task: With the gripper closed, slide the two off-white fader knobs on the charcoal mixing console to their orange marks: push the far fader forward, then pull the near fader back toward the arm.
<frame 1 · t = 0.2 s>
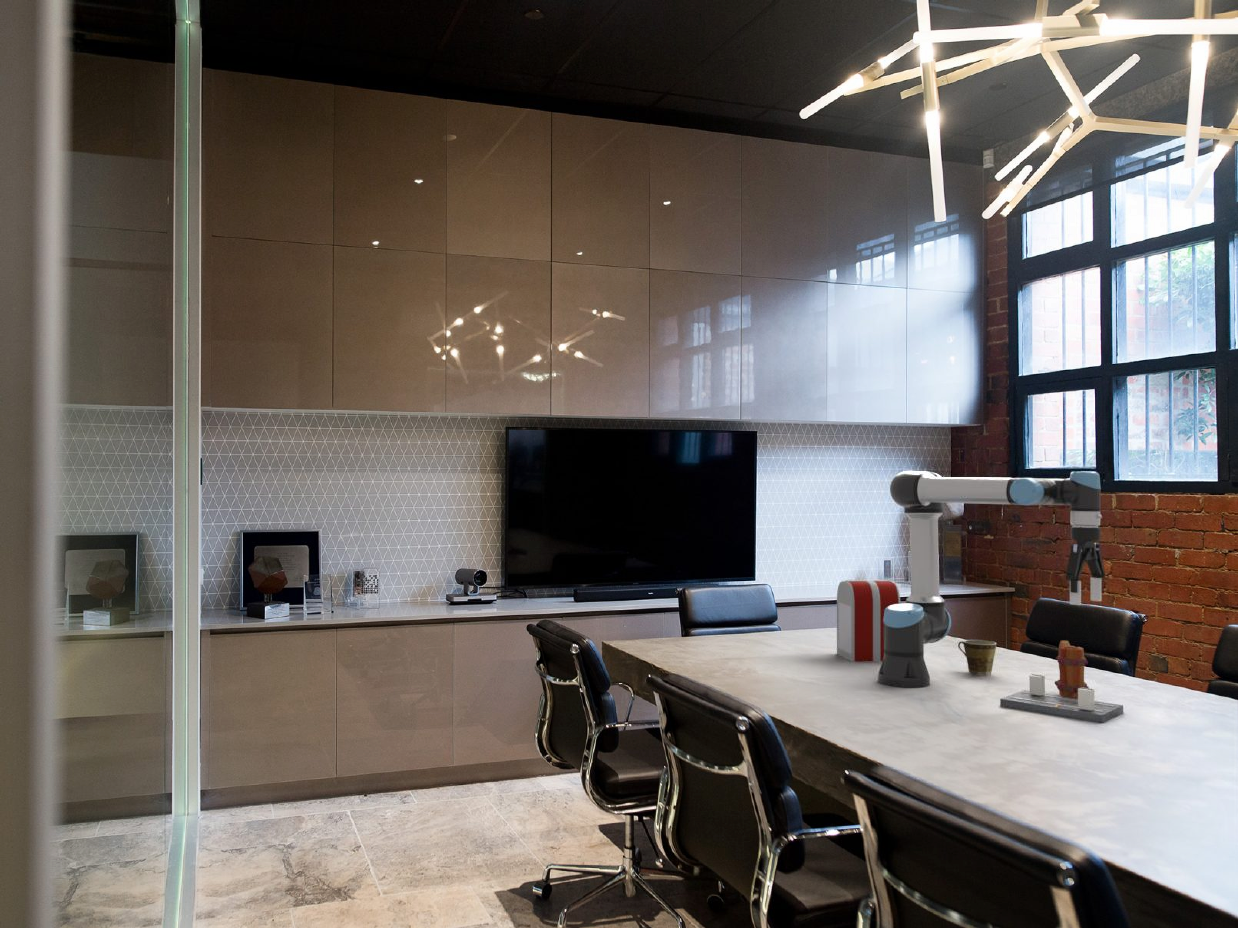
hand: (1085, 602, 265), 27 cm above the table, fingers open, 13 cm apart
fader near: (1086, 698, 246), point 5 cm above the table, slide at 10.0 cm
ceramic cup: (975, 673, 306), on the table
console: (1060, 709, 255), on the table
mug: (1069, 696, 272), on the table
red striped block: (868, 657, 334), on the table
fader far: (1037, 684, 264), point 5 cm above the table, slide at 0.0 cm
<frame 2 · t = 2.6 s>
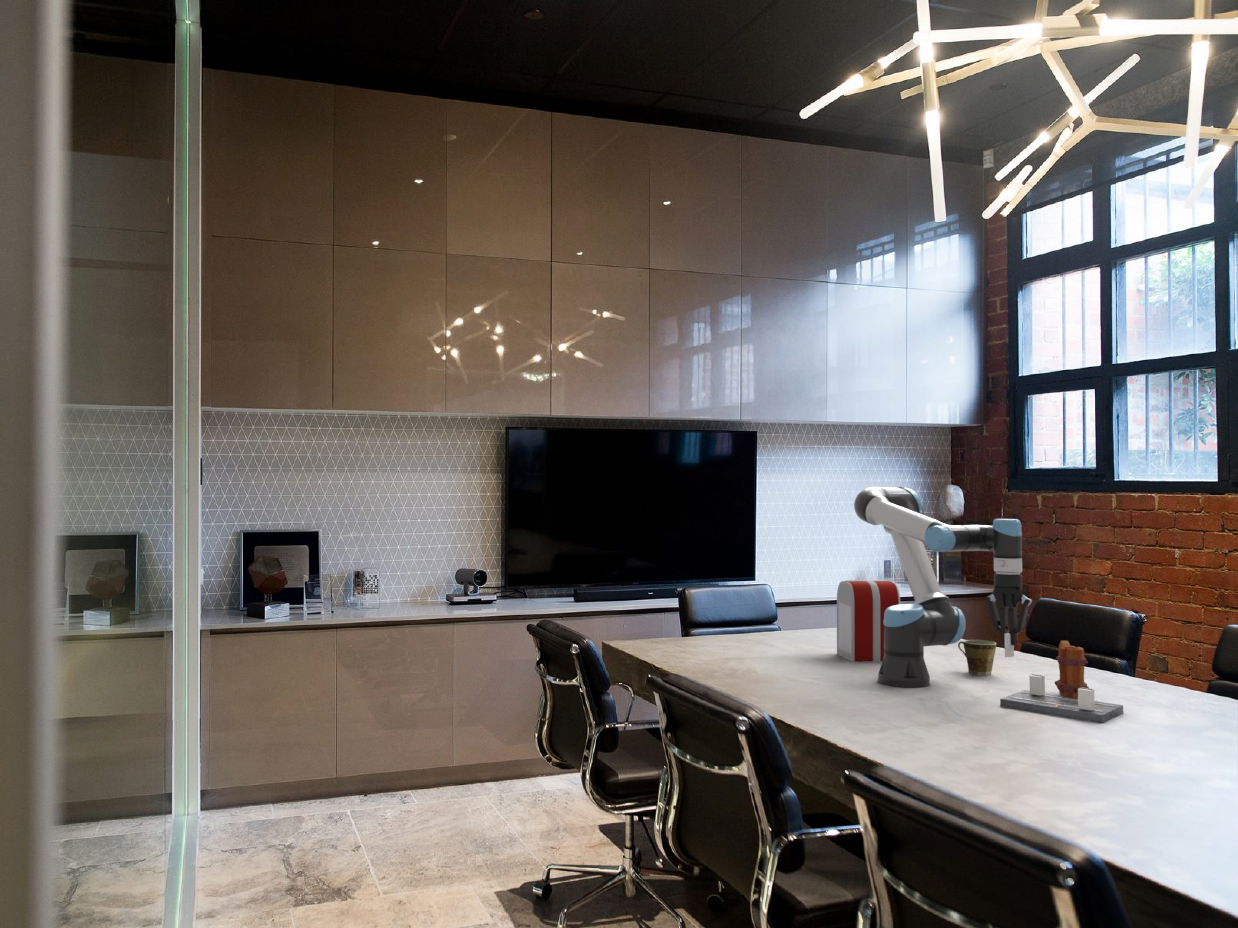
hand: (1009, 656, 269), 12 cm above the table, fingers closed
nothing on the table moved.
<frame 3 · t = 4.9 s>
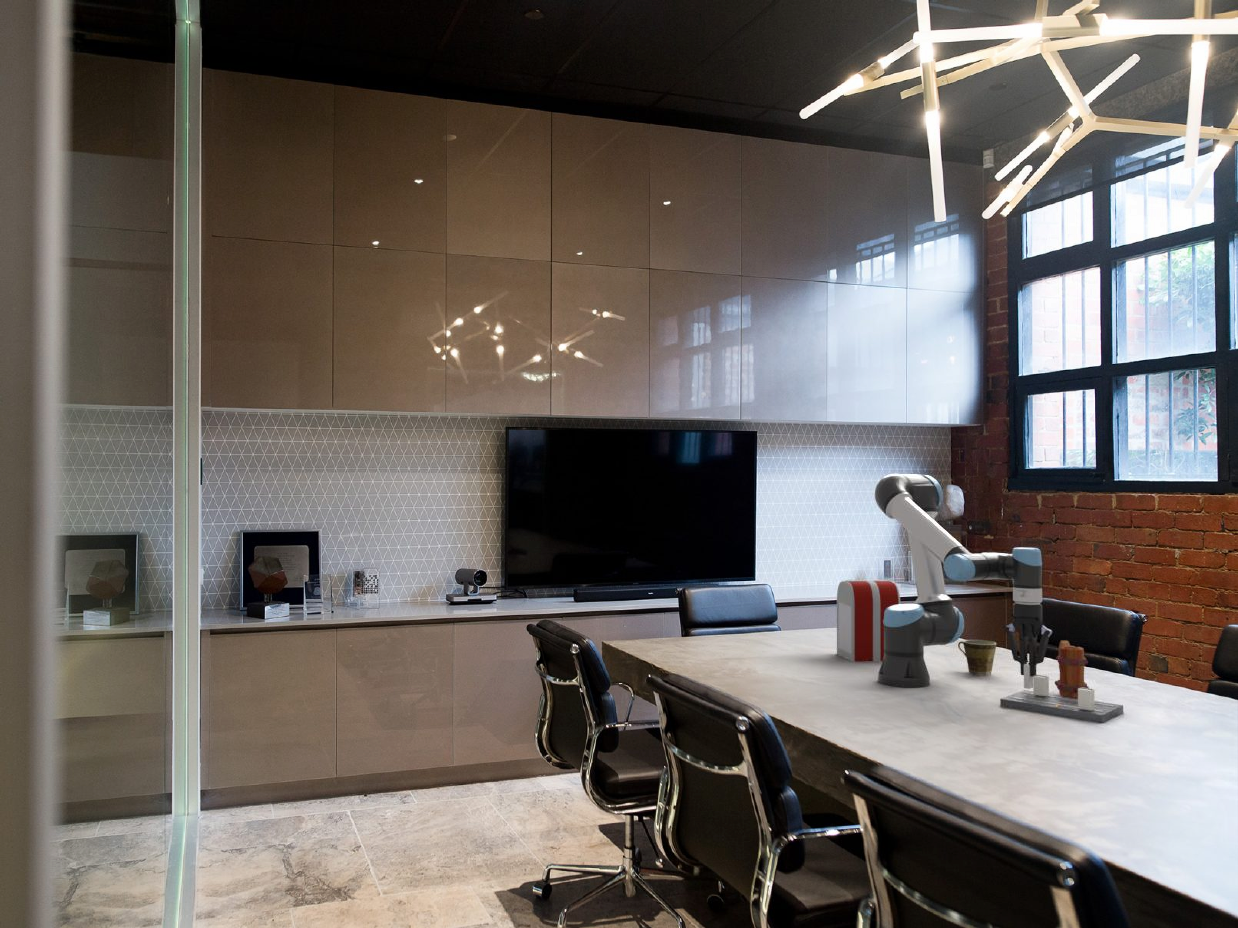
hand: (1028, 687, 265), 4 cm above the table, fingers closed
fader far: (1041, 684, 263), point 5 cm above the table, slide at 1.1 cm, touching gripper
everything else where it was.
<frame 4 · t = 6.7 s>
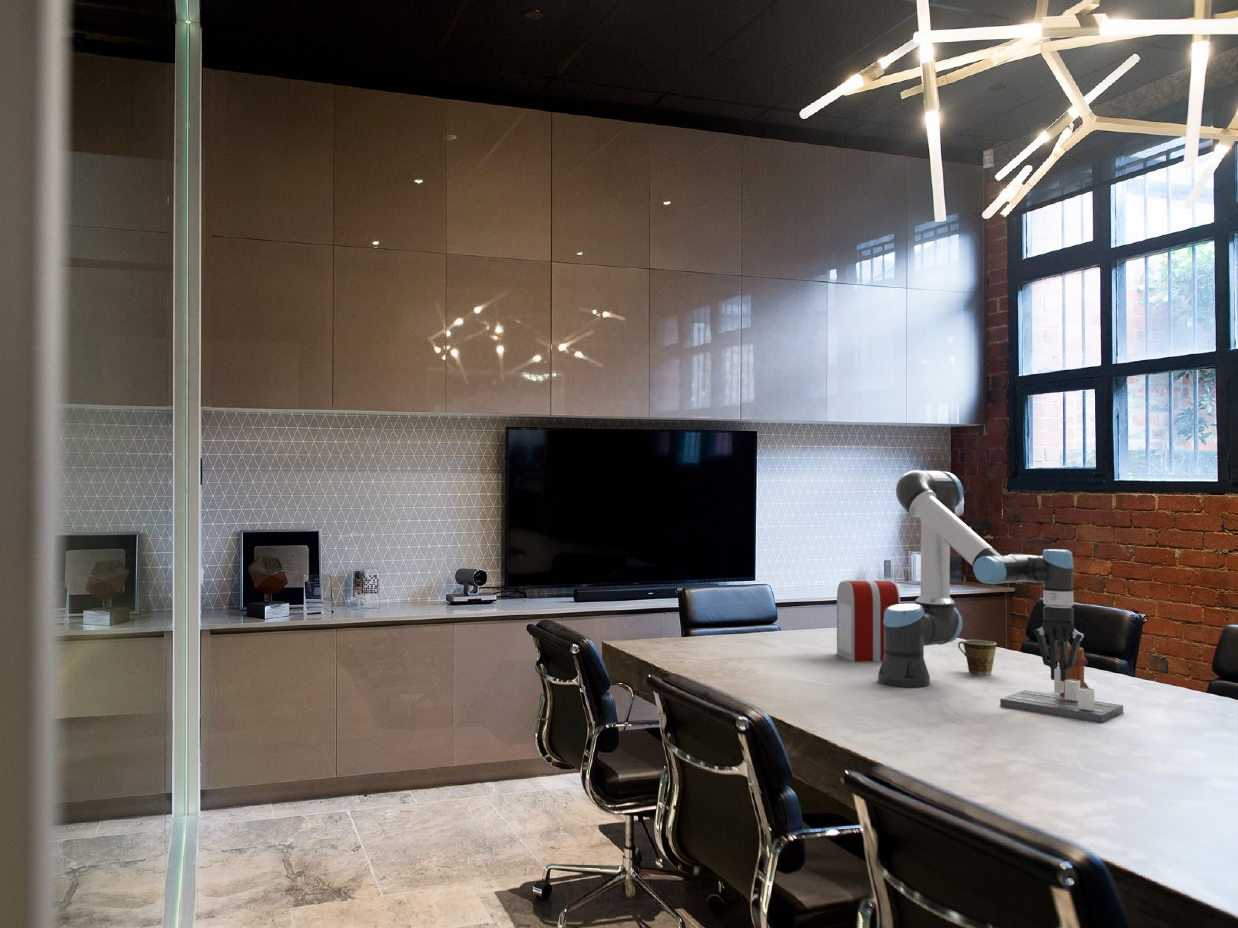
hand: (1059, 692, 259), 4 cm above the table, fingers closed
fader far: (1072, 689, 257), point 5 cm above the table, slide at 9.4 cm, touching gripper
everything else where it was.
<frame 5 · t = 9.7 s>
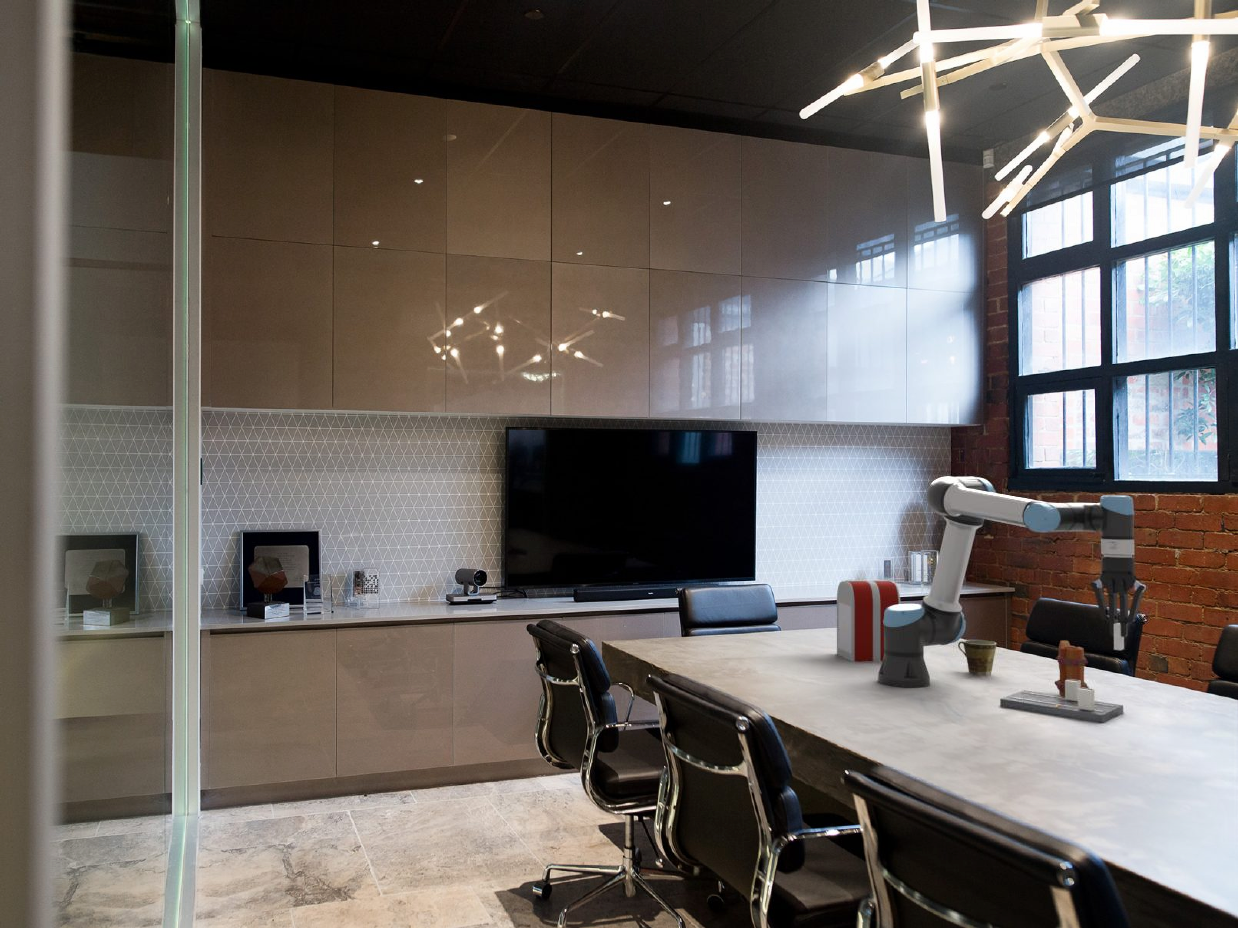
hand: (1119, 649, 241), 19 cm above the table, fingers closed
fader far: (1072, 689, 257), point 5 cm above the table, slide at 9.5 cm
everything else where it was.
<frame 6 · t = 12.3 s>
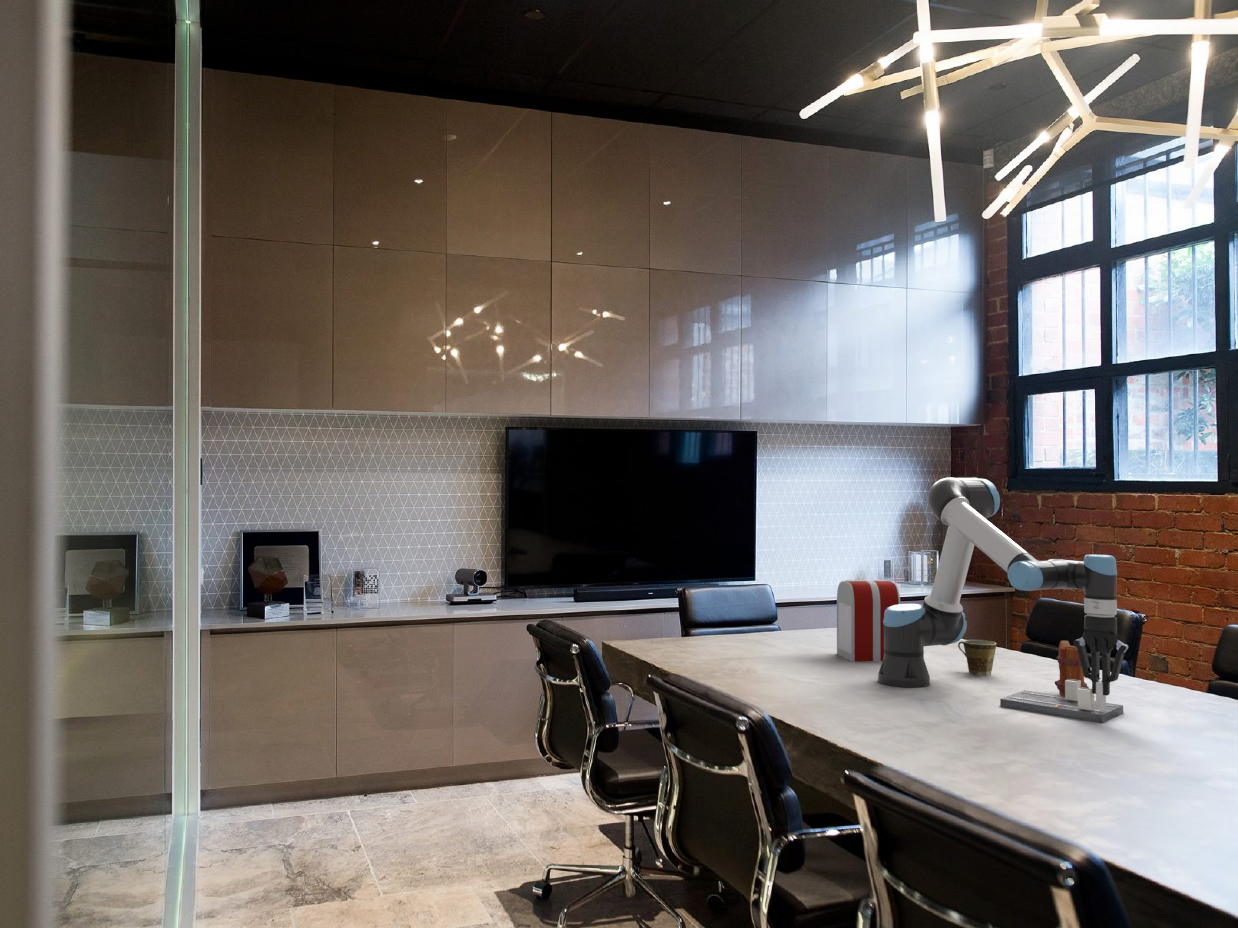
hand: (1100, 707, 243), 3 cm above the table, fingers closed
fader near: (1086, 698, 246), point 5 cm above the table, slide at 9.9 cm, touching gripper
everything else where it was.
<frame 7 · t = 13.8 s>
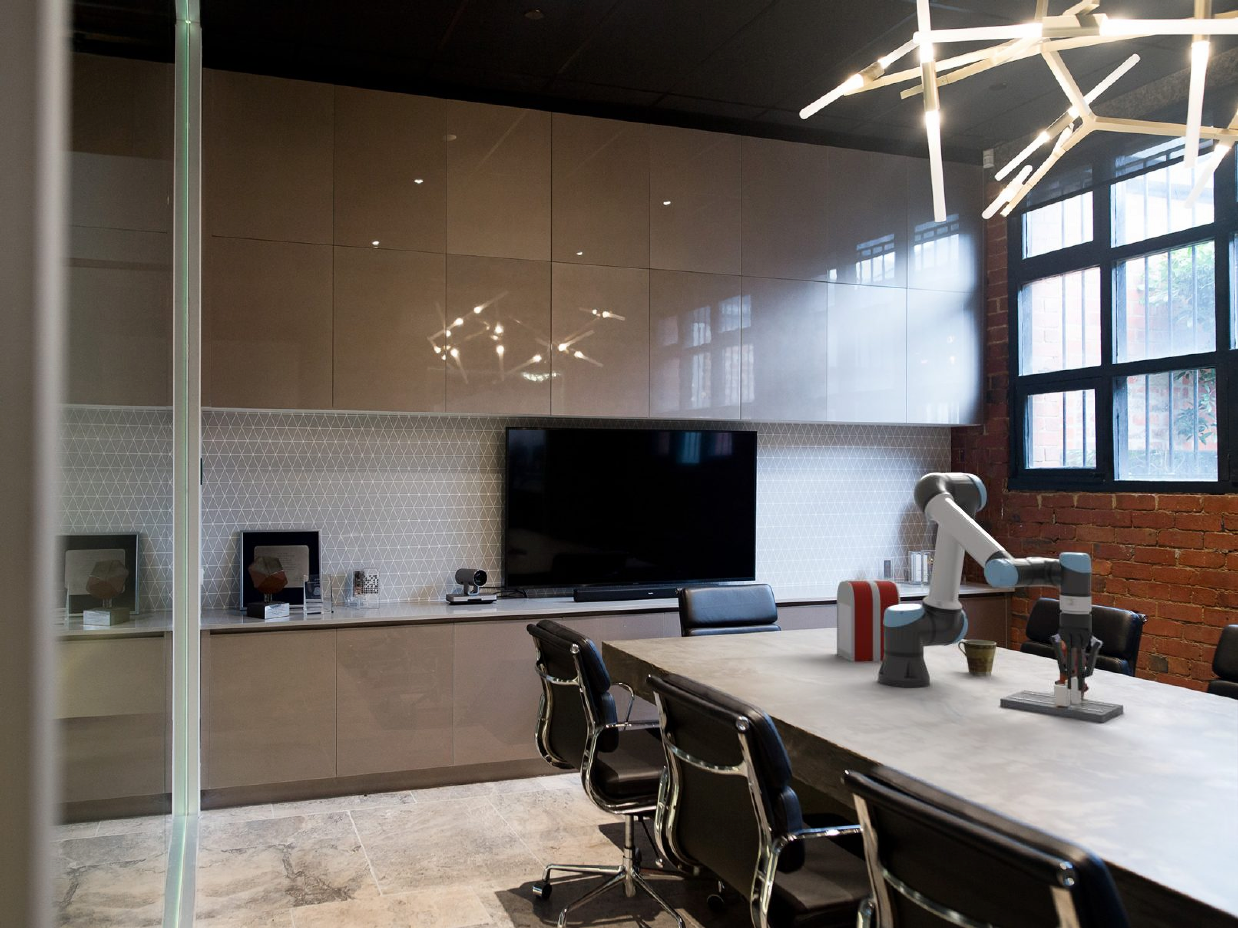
hand: (1076, 702, 248), 3 cm above the table, fingers closed
fader near: (1062, 694, 250), point 5 cm above the table, slide at 4.0 cm, touching gripper
everything else where it was.
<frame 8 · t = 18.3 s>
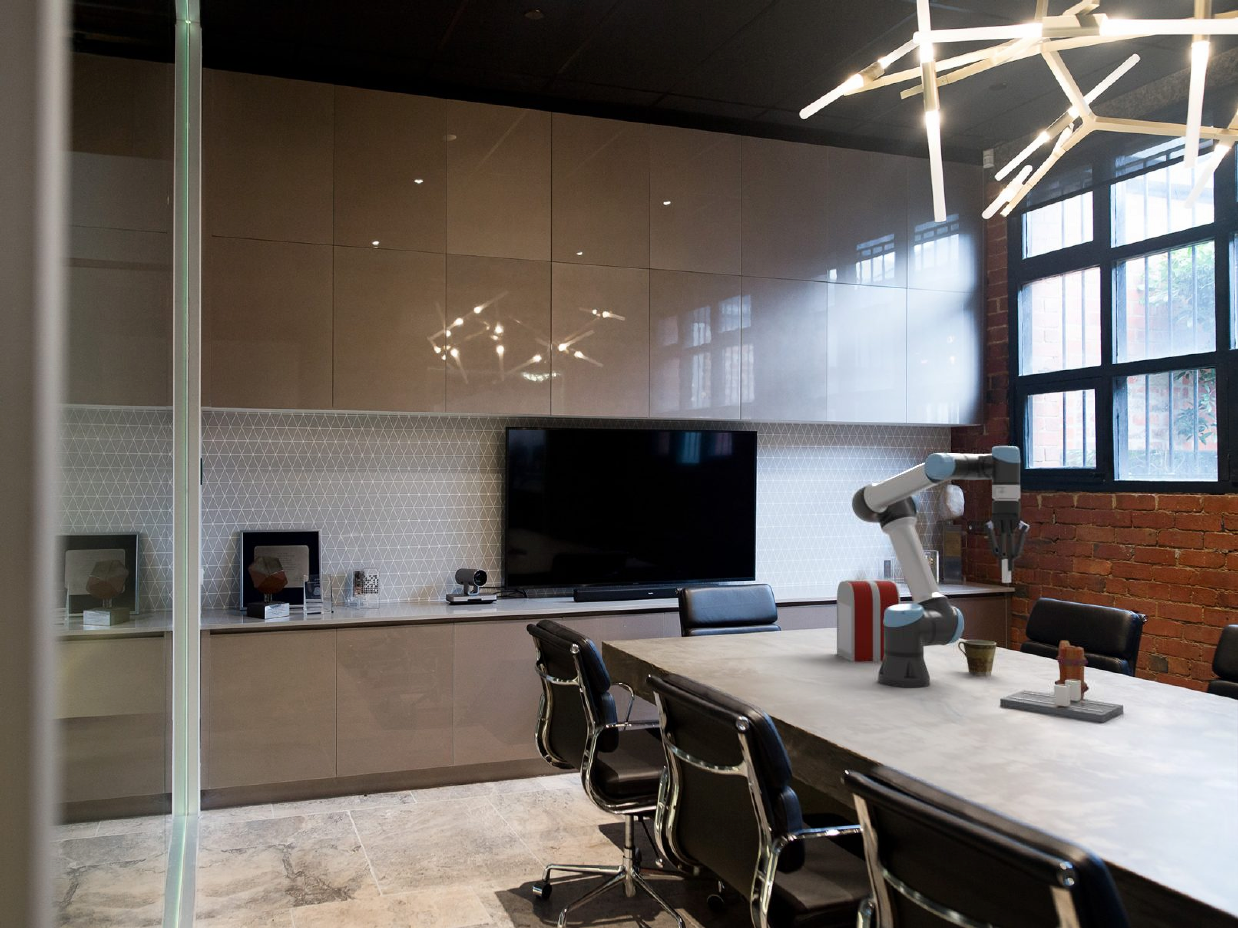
hand: (1006, 582, 272), 32 cm above the table, fingers closed
fader near: (1062, 694, 250), point 5 cm above the table, slide at 4.0 cm
everything else where it was.
at the end: fader far slide at 9.5 cm; fader near slide at 4.0 cm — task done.
